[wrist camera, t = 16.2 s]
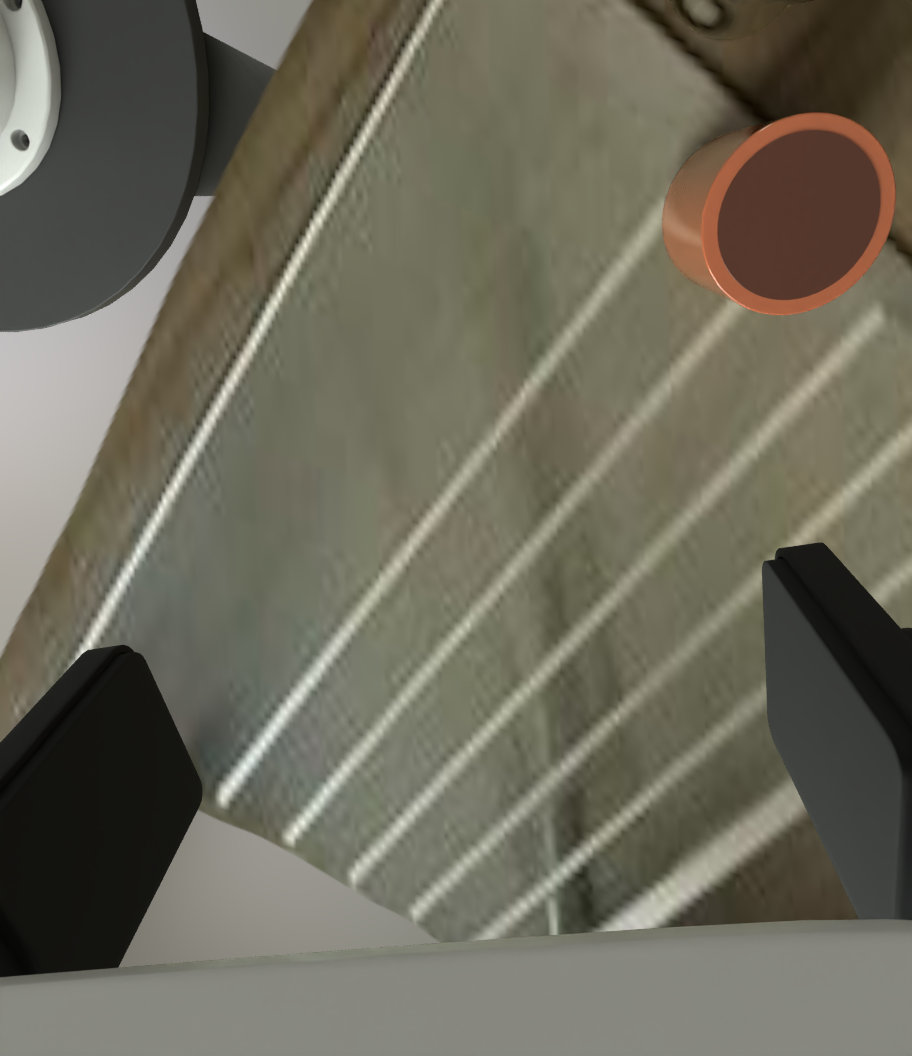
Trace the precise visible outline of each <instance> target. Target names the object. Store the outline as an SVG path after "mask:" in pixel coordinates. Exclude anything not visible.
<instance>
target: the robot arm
mask: <svg viewBox="0 0 912 1056" xmlns="http://www.w3.org/2000/svg"><path fill="white" fill-rule="evenodd" d="M60 102H61V76H60V64H59V58H58V53H57V48H56V43H55V38H54V34H53V31H52V28H51V25H50V22H49V20H48V17H47V14H46V11H45V8H44V5H43V3H42V1H41V0H22V6H21V5H20V0H0V196H1V195H3V194H5V193H7V192H8V191H10V190H12V189H13V188H15V187H17V186H19V185H20V184H22V183H23V182H24V181H25V180H26V179H27V178H28V177H29V176H30V175H31V174H32V173H33V172H34V171H35V170H36V169H37V167H38V166H39V164H40V162H41V161H42V159H43V157H44V156H45V154H46V152H47V151H48V149H49V147H50V144H51V141H52V138H53V135H54V133H55V130H56V127H57V123H58V116H59V109H60ZM28 138H29V141H30V143H29V144H28V141H27V139H28ZM762 584H763V610H764V636H765V662H766V688H767V714H768V722H769V727H770V731H771V735H772V738H773V741H774V743H775V745H776V747H777V749H778V751H779V753H780V756H781V758H782V760H783V762H784V764H785V766H786V768H787V770H788V772H789V774H790V776H791V778H792V780H793V783H794V785H795V787H796V789H797V791H798V793H799V795H800V797H801V799H802V801H803V803H804V805H805V808H806V810H807V812H808V814H809V816H810V818H811V820H812V822H813V824H814V826H815V828H816V830H817V832H818V835H819V837H820V839H821V841H822V843H823V845H824V847H825V849H826V851H827V853H828V855H829V857H830V859H831V862H832V864H833V866H834V868H835V870H836V872H837V874H838V876H839V878H840V880H841V882H842V884H843V886H844V889H845V891H846V893H847V895H848V897H849V899H850V901H851V903H852V905H853V907H854V909H855V911H856V914H857V916H858V918H859V920H803V921H783V922H764V923H745V924H726V925H708V926H689V927H670V928H651V929H636V930H622V931H607V932H593V933H579V934H564V935H550V936H535V937H521V938H506V939H492V940H478V941H463V942H449V943H434V944H421V945H407V946H394V947H380V948H367V949H354V950H340V951H328V952H313V953H300V954H288V955H274V956H260V957H248V958H235V959H221V960H209V961H195V962H183V963H171V964H158V965H146V966H133V967H122V968H118V967H119V965H120V963H121V961H122V959H123V957H124V955H125V953H126V951H127V949H128V947H129V945H130V943H131V941H132V939H133V937H134V935H135V933H136V931H137V929H138V927H139V925H140V923H141V921H142V919H143V917H144V915H145V913H146V911H147V909H148V907H149V905H150V903H151V901H152V899H153V897H154V895H155V893H156V891H157V889H158V887H159V886H160V883H161V882H162V880H163V877H164V876H165V874H166V871H167V870H168V868H169V866H170V864H171V862H172V860H173V858H174V856H175V854H176V852H177V850H178V848H179V846H180V844H181V842H182V840H183V838H184V836H185V834H186V832H187V830H188V828H189V826H190V824H191V822H192V820H193V818H194V816H195V814H196V812H197V810H198V808H199V806H200V803H201V800H202V784H201V780H200V778H199V776H198V773H197V771H196V769H195V767H194V765H193V763H192V760H191V758H190V756H189V754H188V752H187V750H186V747H185V745H184V743H183V741H182V739H181V736H180V734H179V732H178V730H177V728H176V726H175V723H174V721H173V719H172V717H171V715H170V713H169V710H168V708H167V706H166V704H165V702H164V699H163V697H162V695H161V693H160V691H159V689H158V686H157V684H156V682H155V680H154V678H153V676H152V673H151V671H150V669H149V667H148V665H147V662H146V660H145V659H144V657H143V656H142V655H141V654H140V653H137V652H134V651H133V650H132V649H131V648H130V647H129V646H126V645H119V646H112V647H105V648H98V649H92V650H87V651H86V652H84V653H83V654H82V655H81V656H80V657H79V658H78V659H77V660H76V661H75V663H74V664H73V665H72V666H71V667H70V668H69V669H68V670H67V671H66V672H65V673H64V674H63V676H62V677H61V678H60V679H59V680H58V681H57V682H56V683H55V684H54V685H53V686H52V687H51V688H50V690H49V691H48V692H47V693H46V694H45V695H44V696H43V697H42V698H41V699H40V700H39V701H38V703H37V704H36V705H35V706H34V707H33V708H32V709H31V710H30V711H29V712H28V713H27V714H26V716H25V717H24V718H23V719H22V720H21V721H20V722H19V723H18V724H17V725H16V726H15V727H14V729H13V730H12V731H11V732H10V733H9V734H8V735H7V736H6V737H5V738H4V739H3V740H2V742H1V743H0V1056H912V628H902V629H901V628H900V627H899V626H898V625H897V624H896V623H895V622H894V620H893V619H892V618H891V617H890V616H889V615H888V614H887V613H886V612H885V610H884V609H883V608H882V607H881V606H880V605H879V604H878V603H877V602H876V600H875V599H874V598H873V597H872V596H871V595H870V594H869V593H868V591H867V590H866V589H865V588H864V587H863V586H862V585H861V584H860V583H859V581H858V580H857V579H856V578H855V577H854V576H853V575H852V574H851V573H850V571H849V570H848V569H847V568H846V567H845V566H844V565H843V564H842V562H841V561H840V560H839V559H838V558H837V557H836V556H835V555H834V554H833V552H832V551H831V550H830V549H829V548H828V547H827V546H826V545H825V544H824V543H813V544H806V545H799V546H793V547H786V548H779V549H778V550H777V551H776V554H775V560H769V561H764V563H763V566H762Z"/></svg>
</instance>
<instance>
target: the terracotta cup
mask: <svg viewBox="0 0 912 1056" xmlns="http://www.w3.org/2000/svg"><path fill="white" fill-rule="evenodd" d="M895 203H896V185H895V179H894V173H893V169H892V166H891V163H890V160H889V158H888V156H887V154H886V152H885V150H884V148H883V147H882V145H881V144H880V142H879V141H878V140H877V139H876V138H875V136H874V135H873V134H872V133H871V132H870V131H869V130H867V129H866V128H865V127H863V126H862V125H860V124H859V123H857V122H855V121H853V120H851V119H849V118H847V117H844V116H840V115H837V114H832V113H825V112H808V113H801V114H795V115H792V116H788V117H784V118H781V119H777V120H773V121H770V122H766V123H762V124H758V125H755V126H751V127H747V128H744V129H740V130H736V131H733V132H729V133H726V134H723V135H721V136H719V137H717V138H714V139H713V140H711V141H709V142H708V143H706V144H705V145H703V146H702V147H701V148H699V149H698V150H697V151H696V152H695V153H694V154H693V155H692V156H691V157H690V158H689V159H688V160H687V161H686V162H685V163H684V165H683V166H682V167H681V168H680V170H679V172H678V173H677V175H676V176H675V178H674V180H673V182H672V184H671V186H670V188H669V191H668V194H667V197H666V201H665V205H664V210H663V235H664V241H665V244H666V248H667V250H668V253H669V255H670V257H671V259H672V261H673V262H674V264H675V265H676V267H677V268H678V269H679V270H680V271H681V272H682V273H683V274H684V275H685V276H686V277H687V278H688V279H690V280H691V281H693V282H694V283H696V284H698V285H700V286H702V287H704V288H706V289H708V290H710V291H712V292H714V293H716V294H719V295H721V296H723V297H725V298H727V299H729V300H731V301H733V302H735V303H737V304H739V305H741V306H743V307H745V308H747V309H750V310H752V311H756V312H759V313H764V314H770V315H789V314H797V313H801V312H805V311H809V310H812V309H815V308H817V307H820V306H822V305H824V304H826V303H828V302H830V301H832V300H834V299H835V298H837V297H838V296H840V295H841V294H843V293H844V292H846V291H847V290H848V289H849V288H850V287H852V286H853V285H854V284H855V283H856V282H857V281H858V280H859V279H860V278H861V277H862V276H863V275H864V274H865V273H866V271H867V270H868V269H869V268H870V266H871V265H872V264H873V262H874V261H875V259H876V258H877V256H878V255H879V253H880V251H881V249H882V247H883V245H884V243H885V241H886V239H887V236H888V234H889V231H890V228H891V225H892V221H893V217H894V212H895Z"/></svg>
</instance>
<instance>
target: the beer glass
mask: <svg viewBox="0 0 912 1056" xmlns="http://www.w3.org/2000/svg"><path fill="white" fill-rule="evenodd" d="M810 1H814V0H670V2H671V5H672V7H673V9H674V10H675V12H676V14H677V15H678V17H679V18H680V19H681V20H682V21H683V22H684V24H685V25H687V26H688V27H689V28H690V29H691V30H693V31H694V32H696V33H698V34H700V35H702V36H704V37H707V38H710V39H715V40H735V39H740V38H743V37H746V36H749V35H751V34H754V33H756V32H758V31H759V30H761V29H763V28H764V27H766V26H767V25H768V24H770V23H771V22H772V21H773V20H775V19H776V18H777V17H778V16H779V15H780V14H781V13H782V12H783V11H784V10H785V9H786V7H787V6H788V5H794V4H802V3H806V2H810Z"/></svg>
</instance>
